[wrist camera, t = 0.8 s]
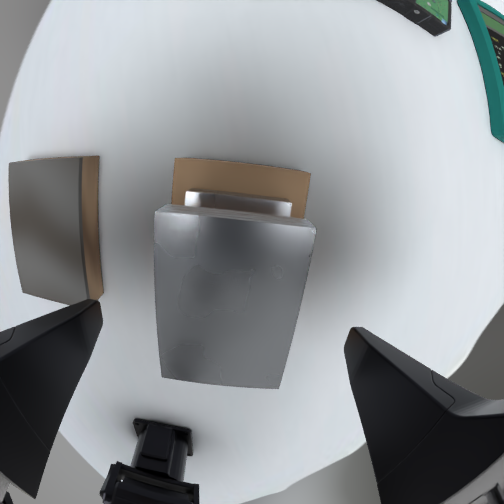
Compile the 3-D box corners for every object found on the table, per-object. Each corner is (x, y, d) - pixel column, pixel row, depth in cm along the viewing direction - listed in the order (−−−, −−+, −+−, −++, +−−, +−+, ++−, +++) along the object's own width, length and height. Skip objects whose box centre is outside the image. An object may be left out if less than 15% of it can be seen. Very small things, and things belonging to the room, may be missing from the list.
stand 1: (103, 293, 18) (89, 309, 16) (39, 279, 18) (22, 292, 16) (99, 155, 15) (79, 157, 13) (29, 159, 15) (8, 163, 12)
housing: (268, 315, 16) (278, 389, 11) (185, 306, 16) (161, 377, 10) (287, 198, 14) (316, 228, 8) (191, 188, 14) (154, 211, 8)
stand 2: (276, 315, 19) (280, 335, 17) (178, 304, 19) (170, 324, 16) (301, 170, 16) (310, 173, 14) (185, 157, 15) (174, 158, 13)
